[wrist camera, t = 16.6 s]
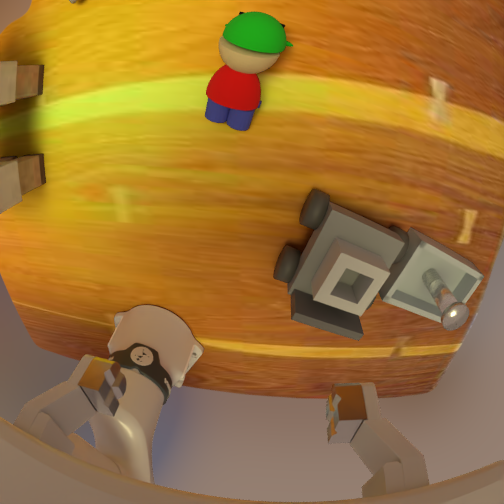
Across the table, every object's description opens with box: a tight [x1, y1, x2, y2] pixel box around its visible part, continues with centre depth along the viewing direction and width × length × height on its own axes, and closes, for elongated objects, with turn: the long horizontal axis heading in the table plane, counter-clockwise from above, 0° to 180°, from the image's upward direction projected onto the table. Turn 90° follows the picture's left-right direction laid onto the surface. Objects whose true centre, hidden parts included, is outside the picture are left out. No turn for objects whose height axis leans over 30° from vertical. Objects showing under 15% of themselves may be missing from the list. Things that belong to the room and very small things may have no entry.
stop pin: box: [422, 268, 469, 330], centre depth 38 cm, size 4×4×11 cm
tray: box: [378, 227, 484, 323], centre depth 42 cm, size 11×16×4 cm
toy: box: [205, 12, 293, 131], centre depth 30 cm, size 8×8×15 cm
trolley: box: [274, 189, 409, 341], centre depth 39 cm, size 16×15×12 cm
